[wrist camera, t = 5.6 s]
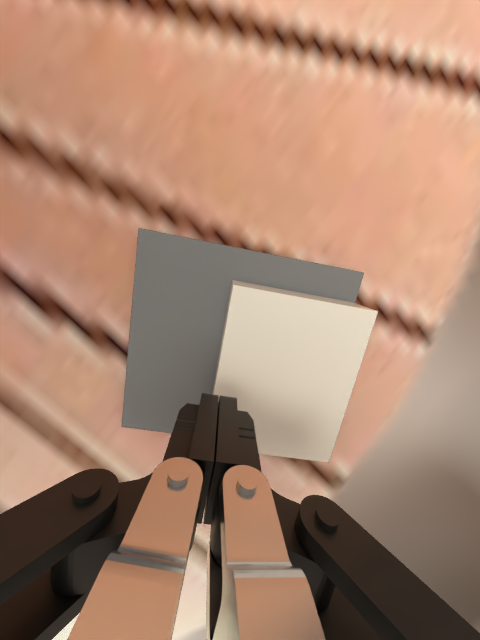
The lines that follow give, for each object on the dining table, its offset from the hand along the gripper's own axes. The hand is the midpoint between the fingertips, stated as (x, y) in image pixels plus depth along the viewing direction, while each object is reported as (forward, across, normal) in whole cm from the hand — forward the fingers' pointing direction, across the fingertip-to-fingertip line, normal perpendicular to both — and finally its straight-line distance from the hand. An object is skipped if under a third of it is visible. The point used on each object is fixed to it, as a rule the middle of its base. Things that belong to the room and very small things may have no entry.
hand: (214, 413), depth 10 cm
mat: (+7, -1, 0) cm, 7 cm away
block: (+5, 0, 0) cm, 5 cm away
